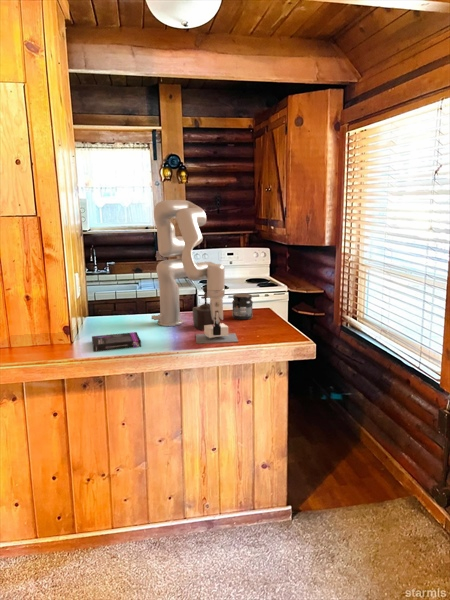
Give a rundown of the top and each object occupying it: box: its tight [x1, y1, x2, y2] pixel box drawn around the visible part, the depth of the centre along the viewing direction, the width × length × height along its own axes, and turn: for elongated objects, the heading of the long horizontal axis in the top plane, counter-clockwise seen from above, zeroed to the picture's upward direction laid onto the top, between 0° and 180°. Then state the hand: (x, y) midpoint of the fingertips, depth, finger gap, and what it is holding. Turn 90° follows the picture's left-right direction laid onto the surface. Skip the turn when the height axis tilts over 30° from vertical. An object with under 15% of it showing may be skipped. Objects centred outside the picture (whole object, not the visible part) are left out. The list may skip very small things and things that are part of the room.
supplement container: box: [231, 292, 254, 321], centre depth 229 cm, size 10×10×12 cm
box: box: [91, 331, 142, 353], centre depth 189 cm, size 14×4×20 cm
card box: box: [203, 322, 229, 338], centre depth 195 cm, size 6×9×4 cm, turn 112°
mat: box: [195, 332, 239, 345], centre depth 196 cm, size 18×12×1 cm, turn 95°
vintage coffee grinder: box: [192, 286, 212, 331], centre depth 215 cm, size 16×11×18 cm
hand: (216, 332), depth 195 cm, fingers closed on card box, 7 cm apart
